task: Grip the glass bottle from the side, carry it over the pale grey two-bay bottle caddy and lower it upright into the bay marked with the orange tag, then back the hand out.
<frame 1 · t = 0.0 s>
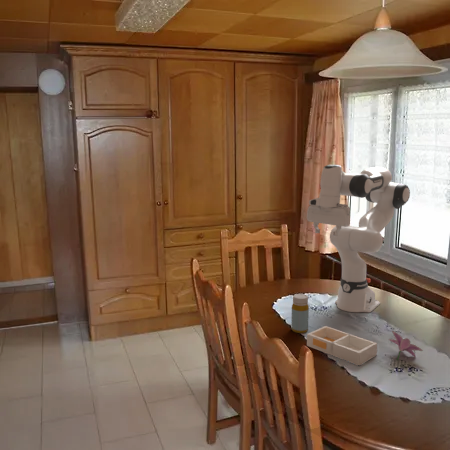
hand: (326, 234, 204), 39 cm above the table, tool pointing down, fingers open, 8 cm apart
lily: (403, 357, 175), on the table
bottle: (299, 330, 200), on the table
caddy: (340, 350, 181), on the table
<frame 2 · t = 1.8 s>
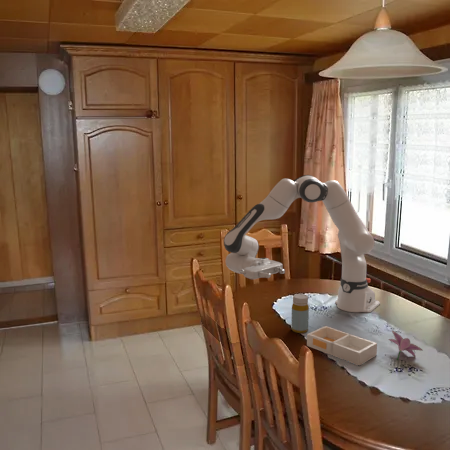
hand: (276, 273, 206), 22 cm above the table, tool horizontal, fingers open, 8 cm apart
nothing on the table moved.
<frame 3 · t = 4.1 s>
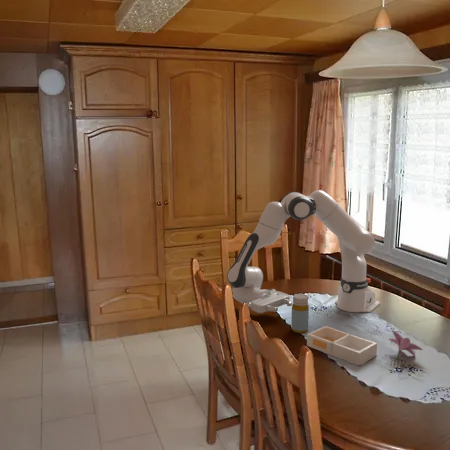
hand: (284, 307, 205), 8 cm above the table, tool horizontal, fingers open, 8 cm apart
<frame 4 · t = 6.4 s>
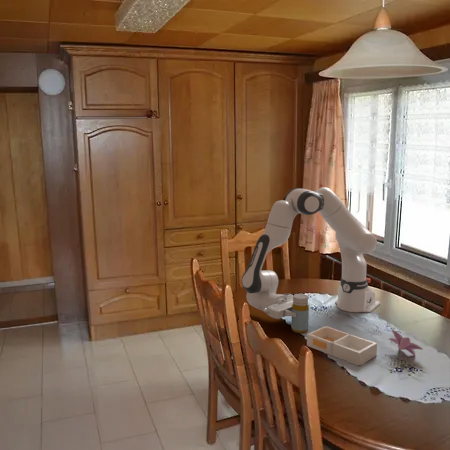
hand: (301, 312, 198), 8 cm above the table, tool horizontal, fingers closed on bottle, 6 cm apart
bottle: (299, 330, 200), on the table, touching gripper
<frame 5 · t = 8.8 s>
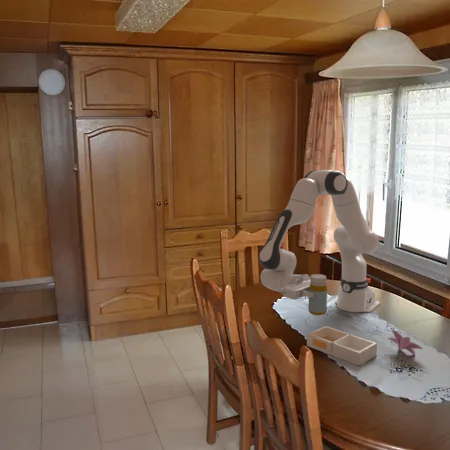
hand: (319, 293, 186), 20 cm above the table, tool horizontal, fingers closed on bottle, 6 cm apart
bottle: (317, 313, 189), point 11 cm above the table, touching gripper
when the fingers open (10 cm above the table, at t = 11.6 s): bottle drops 1 cm, resting on caddy.
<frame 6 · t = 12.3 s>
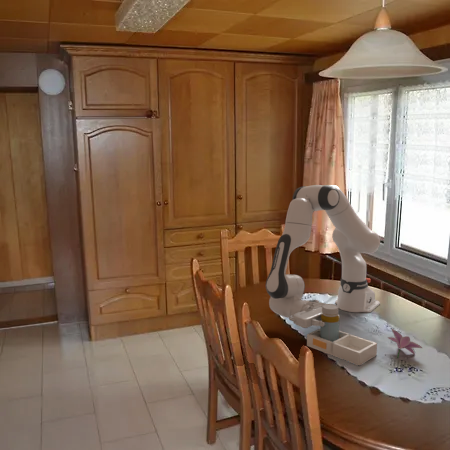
hand: (331, 321, 182), 10 cm above the table, tool horizontal, fingers open, 8 cm apart
bottle: (329, 343, 185), point 1 cm above the table, touching caddy
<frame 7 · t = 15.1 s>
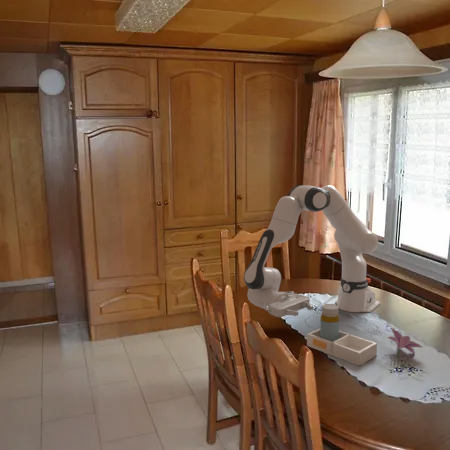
hand: (304, 310, 192), 11 cm above the table, tool horizontal, fingers open, 8 cm apart
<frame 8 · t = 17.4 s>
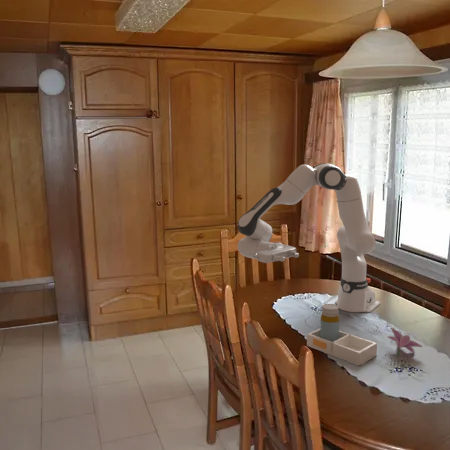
hand: (290, 257, 201), 30 cm above the table, tool horizontal, fingers open, 8 cm apart
at the end: bottle 0.4 cm from the target spot on the caddy, point 0.8 cm above the caddy's base; bottle tilted 0°; the gripper is holding nothing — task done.
